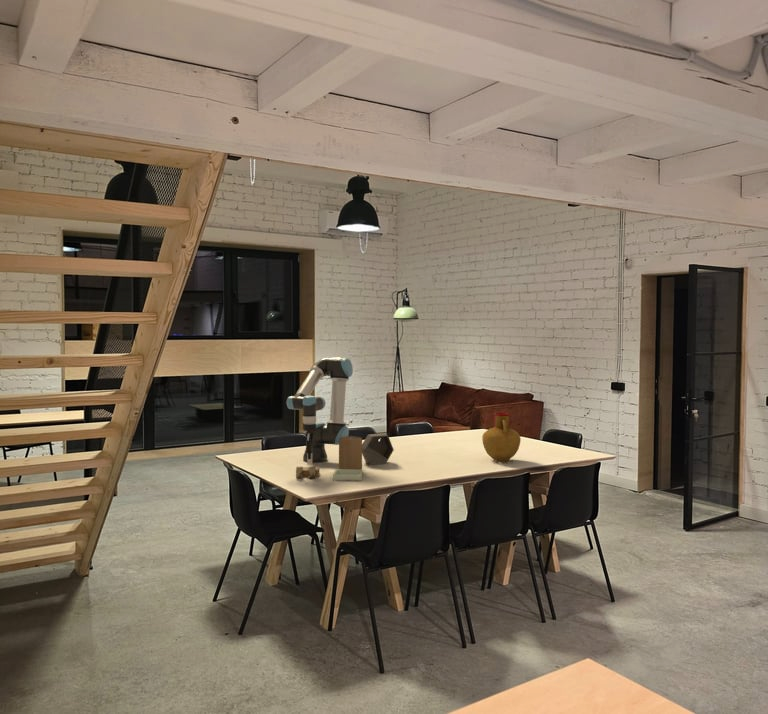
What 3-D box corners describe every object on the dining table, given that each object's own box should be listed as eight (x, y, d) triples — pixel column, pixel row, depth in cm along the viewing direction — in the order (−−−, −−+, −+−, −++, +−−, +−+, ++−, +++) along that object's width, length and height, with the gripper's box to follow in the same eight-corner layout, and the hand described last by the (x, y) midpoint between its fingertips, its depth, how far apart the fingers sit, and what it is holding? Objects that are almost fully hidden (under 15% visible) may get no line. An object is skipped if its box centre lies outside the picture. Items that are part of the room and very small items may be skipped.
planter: (359, 457, 399) (377, 428, 403) (355, 455, 406) (372, 426, 410) (381, 471, 405) (398, 442, 409) (376, 469, 412) (393, 440, 416)
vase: (524, 464, 408) (525, 415, 407) (486, 464, 407) (487, 415, 405) (514, 457, 432) (515, 411, 431) (478, 457, 430) (479, 411, 429)
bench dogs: (296, 477, 366) (296, 466, 366) (315, 477, 366) (315, 466, 365) (295, 478, 362) (295, 467, 362) (314, 479, 362) (315, 468, 362)
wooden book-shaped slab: (298, 474, 376) (298, 467, 376) (319, 474, 376) (319, 467, 375) (295, 477, 368) (295, 470, 368) (317, 477, 368) (317, 470, 367)
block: (349, 469, 388) (350, 435, 388) (362, 471, 382) (362, 437, 381) (338, 472, 381) (338, 437, 380) (350, 474, 374) (351, 439, 373)
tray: (335, 474, 374) (335, 469, 374) (362, 474, 374) (362, 469, 373) (332, 480, 359) (332, 474, 359) (360, 480, 358) (360, 475, 358)
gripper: (304, 421, 382) (304, 461, 384) (301, 425, 369) (301, 466, 371) (317, 421, 382) (317, 461, 384) (314, 425, 369) (314, 467, 371)
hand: (309, 464), depth 377 cm, fingers closed
